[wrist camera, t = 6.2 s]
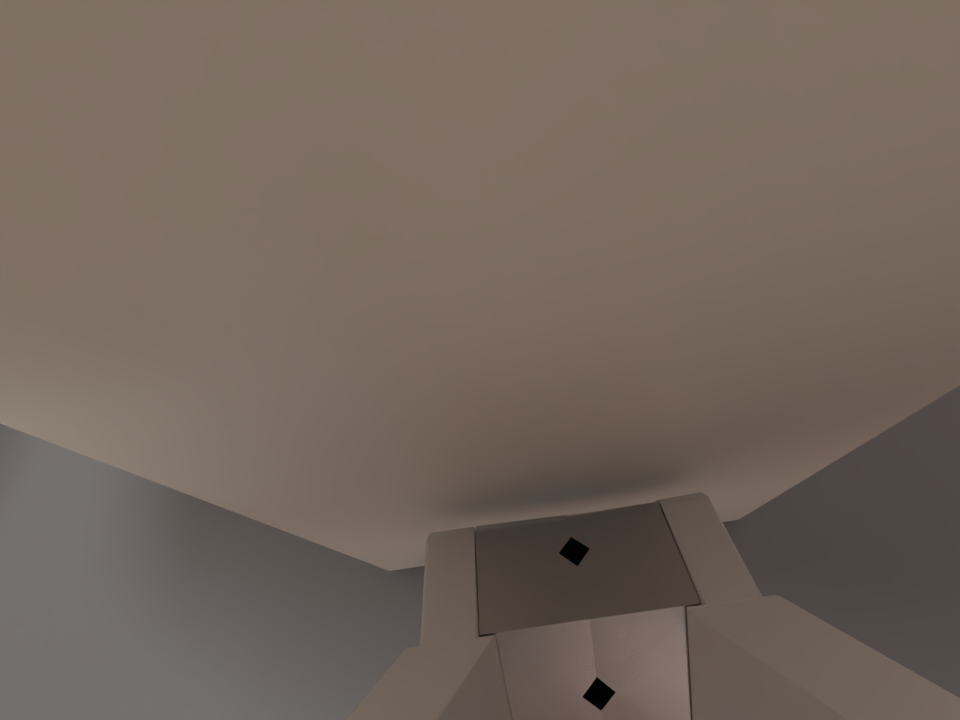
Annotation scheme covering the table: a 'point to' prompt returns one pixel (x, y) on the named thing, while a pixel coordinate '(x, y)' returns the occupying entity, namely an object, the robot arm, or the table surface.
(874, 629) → the grey flat board
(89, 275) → the key two
